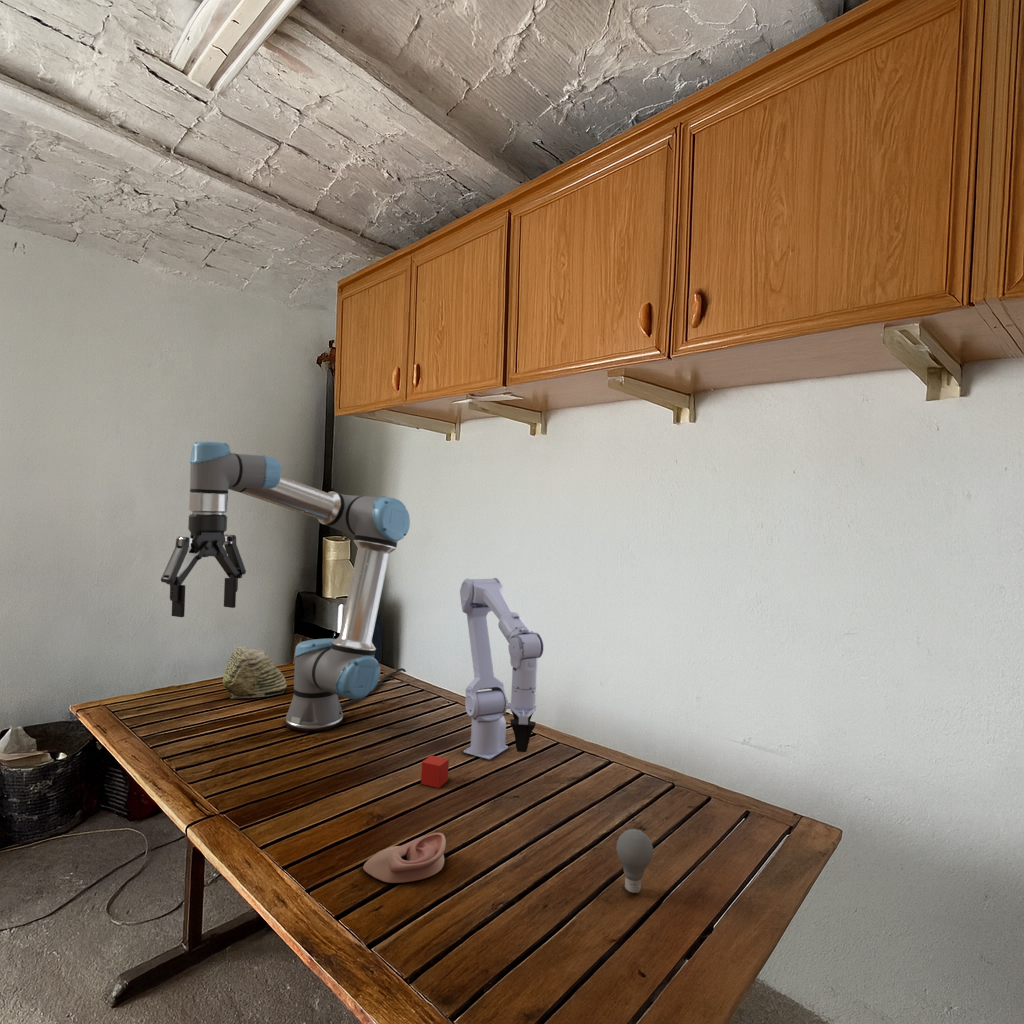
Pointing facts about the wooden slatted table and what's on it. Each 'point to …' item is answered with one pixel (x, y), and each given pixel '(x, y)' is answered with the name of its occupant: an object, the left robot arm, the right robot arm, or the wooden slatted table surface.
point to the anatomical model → (409, 860)
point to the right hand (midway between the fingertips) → (521, 744)
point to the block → (434, 771)
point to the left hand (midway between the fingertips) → (204, 611)
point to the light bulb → (634, 857)
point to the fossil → (252, 674)
